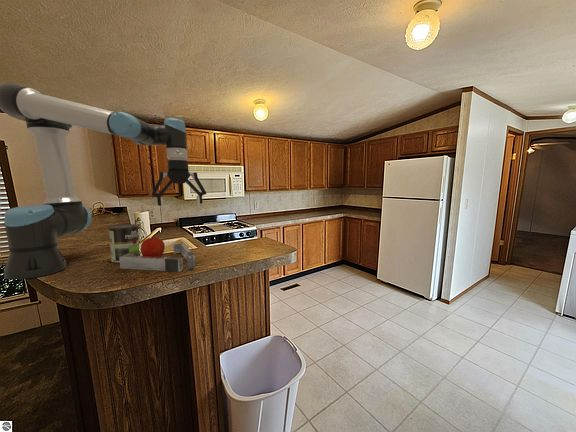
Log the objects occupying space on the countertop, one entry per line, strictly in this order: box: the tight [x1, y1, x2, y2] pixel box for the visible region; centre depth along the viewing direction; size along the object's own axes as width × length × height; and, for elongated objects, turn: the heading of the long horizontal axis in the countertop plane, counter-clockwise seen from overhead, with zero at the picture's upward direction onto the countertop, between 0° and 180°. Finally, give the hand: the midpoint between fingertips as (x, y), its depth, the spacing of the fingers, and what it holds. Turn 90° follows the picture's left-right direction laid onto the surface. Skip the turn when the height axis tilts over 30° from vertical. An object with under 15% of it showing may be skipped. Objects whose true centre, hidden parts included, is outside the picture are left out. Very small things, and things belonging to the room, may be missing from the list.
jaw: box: [172, 242, 196, 266], centre depth 101 cm, size 23×4×4 cm, turn 34°
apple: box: [139, 237, 166, 257], centre depth 94 cm, size 9×8×11 cm
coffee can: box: [107, 223, 141, 264], centre depth 99 cm, size 10×10×14 cm
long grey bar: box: [119, 254, 195, 273], centre depth 89 cm, size 27×5×5 cm, turn 84°
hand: (181, 212), depth 98 cm, fingers open, 13 cm apart
